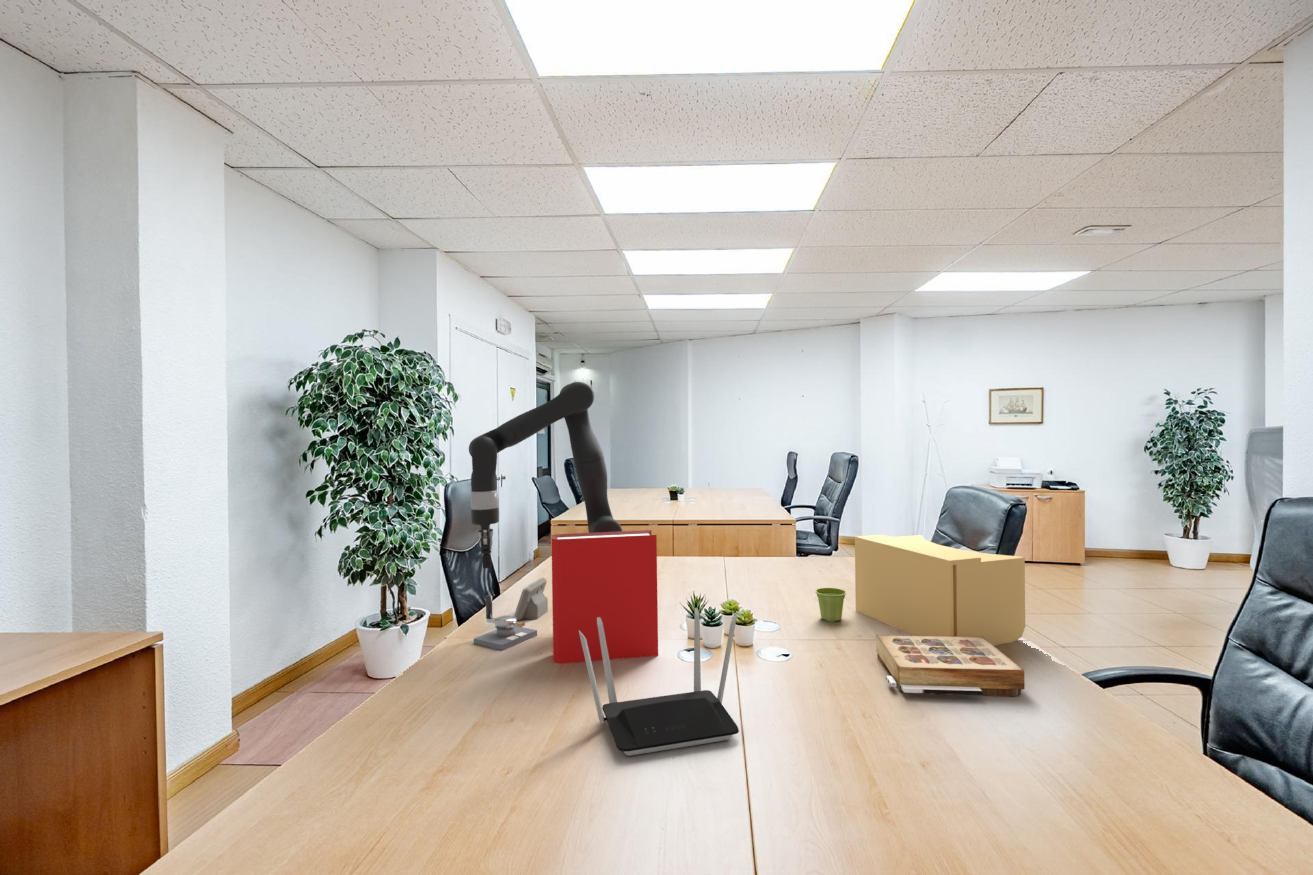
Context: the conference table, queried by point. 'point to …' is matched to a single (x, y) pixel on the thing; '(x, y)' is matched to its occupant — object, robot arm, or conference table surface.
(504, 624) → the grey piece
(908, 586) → the cardboard box
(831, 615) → the plant pot
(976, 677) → the flat wooden box
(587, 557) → the book
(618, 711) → the wireless router
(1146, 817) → the conference table surface
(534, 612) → the digital clock
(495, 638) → the stand
